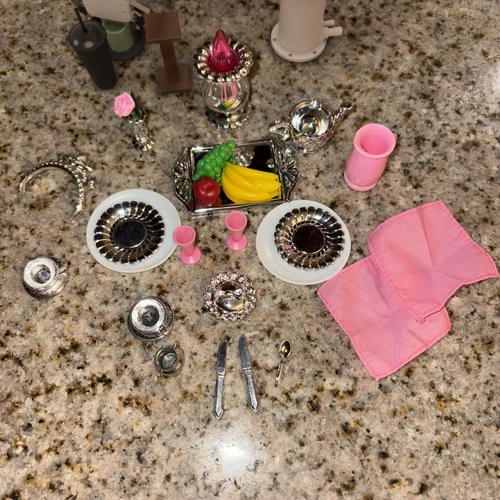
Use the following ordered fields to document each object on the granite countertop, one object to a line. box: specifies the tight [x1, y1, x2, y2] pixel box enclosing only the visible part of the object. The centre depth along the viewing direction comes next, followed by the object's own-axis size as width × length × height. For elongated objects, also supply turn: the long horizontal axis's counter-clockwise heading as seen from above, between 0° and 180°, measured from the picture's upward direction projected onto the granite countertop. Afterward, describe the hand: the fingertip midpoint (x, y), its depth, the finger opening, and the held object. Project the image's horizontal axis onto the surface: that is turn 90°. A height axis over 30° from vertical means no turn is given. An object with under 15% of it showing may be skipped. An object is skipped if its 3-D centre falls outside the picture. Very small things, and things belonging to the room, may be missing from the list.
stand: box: [144, 10, 192, 95], centre depth 101 cm, size 6×6×16 cm
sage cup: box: [102, 18, 133, 52], centre depth 109 cm, size 6×6×6 cm
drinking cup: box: [67, 7, 118, 91], centre depth 99 cm, size 8×8×20 cm
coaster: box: [108, 25, 145, 62], centre depth 112 cm, size 10×10×1 cm
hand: (120, 34), depth 109 cm, fingers open, 9 cm apart
